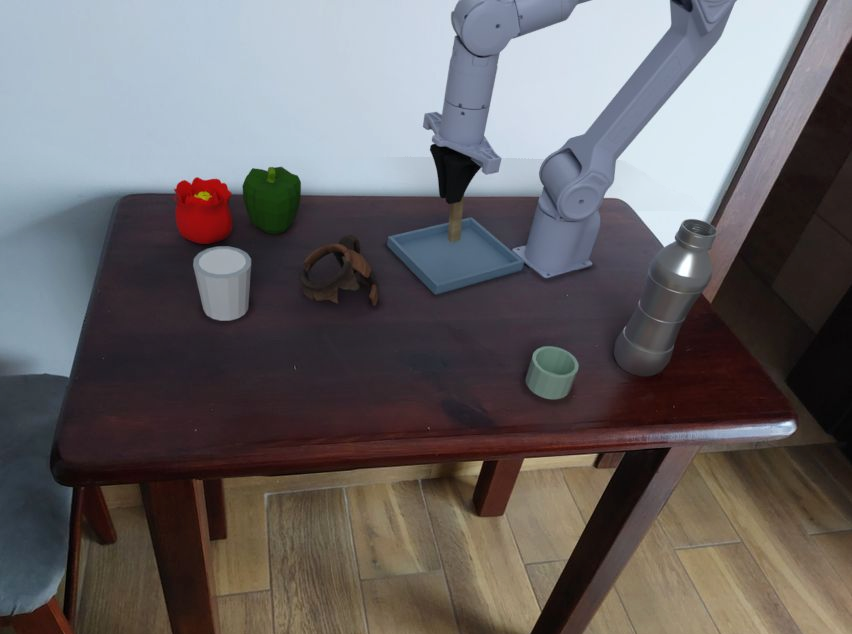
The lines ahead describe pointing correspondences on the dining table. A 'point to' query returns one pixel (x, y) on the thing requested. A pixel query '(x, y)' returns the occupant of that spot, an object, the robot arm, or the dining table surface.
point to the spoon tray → (454, 256)
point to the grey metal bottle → (666, 299)
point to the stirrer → (455, 221)
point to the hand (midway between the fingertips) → (450, 199)
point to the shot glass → (223, 281)
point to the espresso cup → (551, 372)
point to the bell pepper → (272, 198)
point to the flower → (203, 210)
